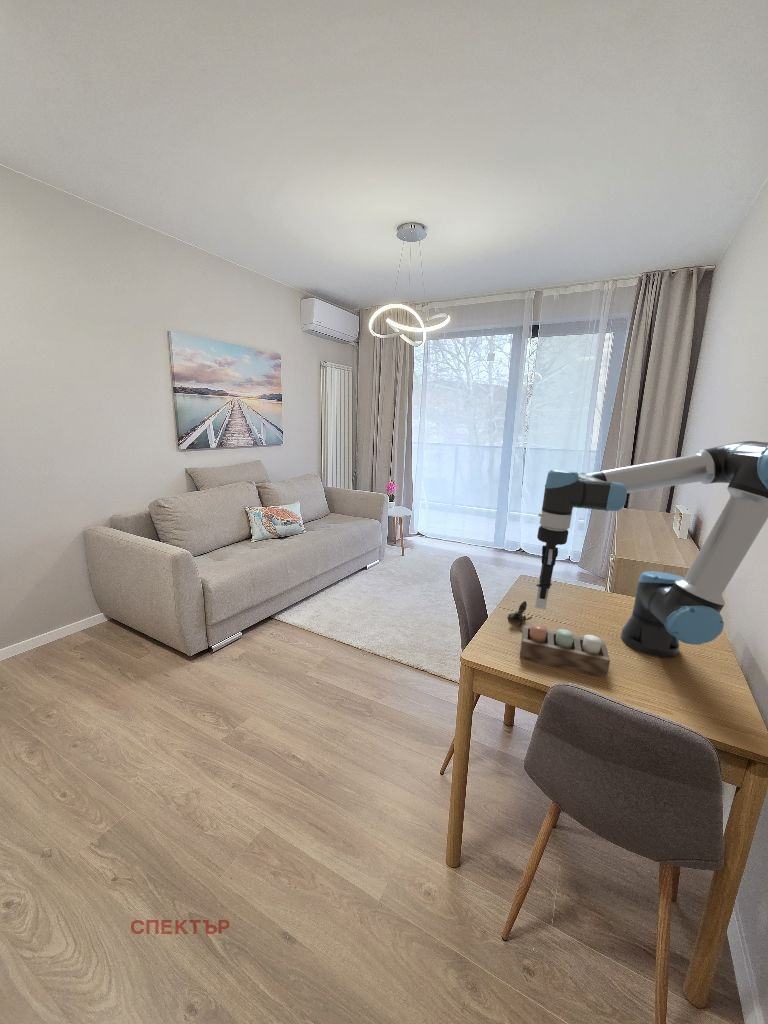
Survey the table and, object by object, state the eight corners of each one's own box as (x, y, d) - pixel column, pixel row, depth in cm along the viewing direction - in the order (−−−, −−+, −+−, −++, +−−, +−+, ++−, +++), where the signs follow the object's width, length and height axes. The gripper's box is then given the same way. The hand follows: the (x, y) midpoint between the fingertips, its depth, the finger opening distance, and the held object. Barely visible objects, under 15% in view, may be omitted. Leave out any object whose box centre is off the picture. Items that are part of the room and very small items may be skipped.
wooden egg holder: (601, 659, 119) (604, 641, 117) (606, 678, 109) (610, 660, 108) (521, 641, 126) (523, 624, 125) (519, 658, 117) (522, 641, 116)
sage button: (570, 647, 118) (573, 631, 117) (571, 654, 114) (574, 638, 113) (554, 643, 120) (556, 627, 119) (554, 651, 116) (557, 635, 115)
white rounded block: (597, 652, 116) (600, 636, 115) (599, 661, 112) (602, 644, 111) (580, 649, 117) (583, 633, 116) (581, 657, 113) (584, 640, 112)
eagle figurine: (537, 626, 134) (531, 608, 142) (528, 609, 132) (522, 593, 140) (515, 634, 136) (510, 617, 144) (506, 618, 134) (501, 602, 142)
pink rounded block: (544, 641, 121) (547, 625, 119) (544, 648, 117) (547, 632, 115) (528, 637, 122) (530, 622, 121) (528, 645, 118) (530, 629, 117)
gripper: (539, 520, 118) (527, 595, 124) (538, 530, 107) (525, 614, 112) (567, 524, 116) (554, 601, 121) (570, 535, 104) (555, 620, 110)
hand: (540, 607), depth 117 cm, fingers closed
